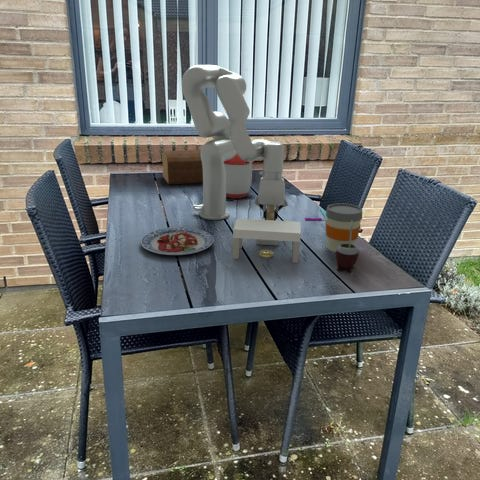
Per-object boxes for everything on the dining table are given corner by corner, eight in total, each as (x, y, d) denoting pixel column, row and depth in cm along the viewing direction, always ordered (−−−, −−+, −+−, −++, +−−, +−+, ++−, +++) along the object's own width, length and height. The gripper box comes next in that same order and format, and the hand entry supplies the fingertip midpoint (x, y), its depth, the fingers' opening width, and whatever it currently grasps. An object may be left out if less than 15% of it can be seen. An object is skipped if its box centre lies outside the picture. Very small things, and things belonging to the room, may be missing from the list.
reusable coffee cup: (331, 256, 161) (336, 215, 155) (316, 243, 172) (320, 204, 166) (364, 253, 164) (370, 213, 158) (347, 240, 175) (352, 202, 170)
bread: (224, 182, 249) (224, 152, 243) (168, 185, 241) (167, 154, 235) (215, 174, 265) (215, 145, 259) (162, 177, 257) (161, 147, 251)
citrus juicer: (261, 196, 226) (262, 155, 219) (230, 201, 217) (231, 159, 209) (242, 188, 238) (243, 149, 230) (213, 193, 229) (213, 152, 221)
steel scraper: (256, 244, 169) (257, 212, 165) (260, 224, 189) (261, 195, 184) (278, 245, 168) (280, 213, 164) (280, 225, 188) (281, 196, 183)
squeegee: (300, 207, 207) (322, 208, 208) (299, 211, 208) (321, 211, 209) (312, 232, 181) (338, 232, 181) (312, 236, 182) (337, 236, 182)
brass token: (258, 258, 159) (258, 254, 159) (259, 252, 164) (259, 249, 163) (273, 259, 159) (273, 255, 158) (273, 253, 163) (273, 250, 163)
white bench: (232, 258, 157) (233, 229, 154) (236, 246, 168) (237, 218, 164) (298, 262, 155) (300, 233, 152) (298, 250, 166) (300, 222, 162)
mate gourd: (342, 275, 148) (347, 230, 142) (328, 265, 154) (332, 222, 149) (361, 271, 150) (367, 227, 145) (347, 262, 157) (352, 219, 151)
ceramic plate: (134, 237, 174) (133, 229, 173) (200, 229, 184) (200, 221, 182) (150, 264, 152) (149, 256, 151) (224, 253, 162) (224, 245, 161)
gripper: (250, 176, 176) (248, 222, 183) (294, 178, 175) (290, 224, 182) (252, 171, 183) (250, 216, 190) (294, 173, 182) (290, 218, 189)
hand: (270, 219), depth 186 cm, fingers closed on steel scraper, 3 cm apart
